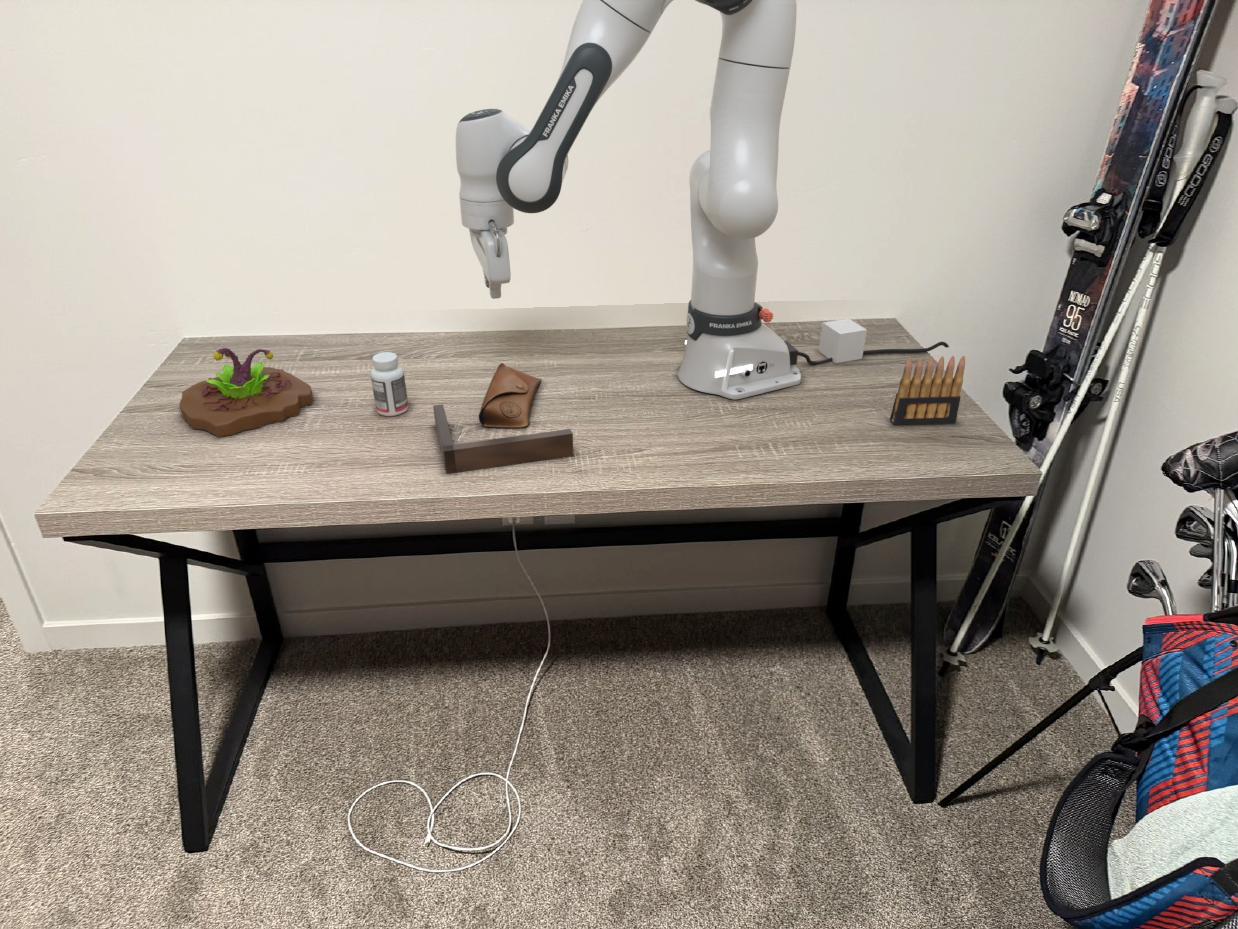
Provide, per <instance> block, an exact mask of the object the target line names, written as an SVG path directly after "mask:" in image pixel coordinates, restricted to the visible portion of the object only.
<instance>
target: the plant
mask: <svg viewBox="0 0 1238 929" xmlns="http://www.w3.org/2000/svg"><path fill="white" fill-rule="evenodd" d="M260 353H263V354H264V356H265V358H266V359H267V360H273V358H274V354H273V351H271V350H268V349H263V348H258V349H256V350H254V351H251V352H250V353H249V355H247V357H246V358H245V361H244V362H243V363H241V362H240V360H239V357H238V355H236V353H235V352H233V351H232V350H231V348H228V347H222V348H219V349H217V350H215V351H214V353H213V359H214V360H215V361H221V360H222V359H223V358H224V357H225V358H229V359H231V361H232V365H228V364H223V366H222V368H221V369H222V370H221V371H222V372H215V377H213V378H212V377H209V378H208V379H206V380H201V381H199V382H196V383H195V384H193V385H191V386H189V387H188V388H186V389H184V390H183V391H181V393H182V394H181V399H180V401H179V409H180V412H181V416H182V419H183V420H184V421H185V422H186V423H187V424H188V425H189V427H190V428H192V429H194V430H202V431H203V430H204V431H207V432H209V433H210V434H212V435H213V436H215V437H216V438H221V437H227V436H233V435H236V434H239V433H242V432H245V431H250V430H254V429H259V428H262V427H265V426H267V425H269V424H273V423H278V422H279V423H280V422H284V421H285V420H286V419H288V418H291V417H295V416H299V415H300V414H301V409H302V408H303V407H306V406H310V405H312V404H313V401H314V395H313V391H312V387H311V385H310V384H309V383H307V382H305V381H304V380H302V379H300V378H299V377H297V376H296V375H294V374H292V373H290V372H287V371H285V370H284V369H281V368H275V367H270V366H265V364H264V362H263V361H260V362H258V363H256V364H254V365H253V366H252V361H253V359H254V357H255V356H256V355H257V354H260Z"/></svg>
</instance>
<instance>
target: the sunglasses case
mask: <svg viewBox="0 0 1238 929" xmlns="http://www.w3.org/2000/svg"><path fill="white" fill-rule="evenodd" d="M541 383H542V379H541V378H539V377H535V376H533V375H529V374H528V373H525V372H522V371H520V370H517V369H515V368H512V367H510V366H507V365H506V364H505V363H504V362H501V363H499V365H497V368H496V370H495V372H494V374H493V375H492V378H491V381H490V383H489V385H488V388H487V390H486V393H485V395H484V398H483V401H482V403H481V407H480V410H479V414H478V421H479V423H480V424H481V425H482V426H483V427H485V428H493V429H522V428H526V427H528V426H529V423H530V412H531V408H532V406H533V405H532V404H533V401H534V398H535V395H536V393H537V390H538V389H539V387H540V384H541Z"/></svg>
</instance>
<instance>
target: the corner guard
mask: <svg viewBox="0 0 1238 929" xmlns="http://www.w3.org/2000/svg"><path fill="white" fill-rule="evenodd" d="M432 407H433V416H434V417H433V418H434V425H435V426H434V427H435V430H436V434H437V439H438V443H439V449H440V452H441V457H442V462H443V465H444V470H445V474H446V475H449V474H457V473H462V472H470V471H476V470H483V469H491V468H499V467H505V466H513V465H520V464H526V463H527V464H528V463H534V462H540V461H546V460H555V459H562V458H569V457H573V456H574V433H573V431H572V429H571V428H566V429H560V430H559V429H558V430H551V431H544V432H537V433H529V434H521V435H513V436H508V437H507V436H506V437H499V438H491V439H484V440H477V441H471V442H469V441H468V442H462V443H455V444H454V442H453V439H452V438H453V437H452V435H451V430H450V426H449V422H448V418H447V414H446V411H445V407H444V404H435V405H434V404H433V406H432Z"/></svg>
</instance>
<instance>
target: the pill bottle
mask: <svg viewBox="0 0 1238 929" xmlns="http://www.w3.org/2000/svg"><path fill="white" fill-rule="evenodd" d="M398 359H399V358H398V355H397V354H396V353H394V352H390V351H384V352H383V351H382V352H379V353H377V354H374V355H373V356H372V365H373V368H372V369H371V372H370V381H371V387H372V392H373V398H374V405H375V411H376V413H377V414H379V415H380V416H384V417H394V416H399V415H402V414H405V412H407V411H408V410H409V399H408V392H407V385H406V384H407V383H406V377H405V372H404V369H403V367H402V366H400V365H399V360H398Z"/></svg>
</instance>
